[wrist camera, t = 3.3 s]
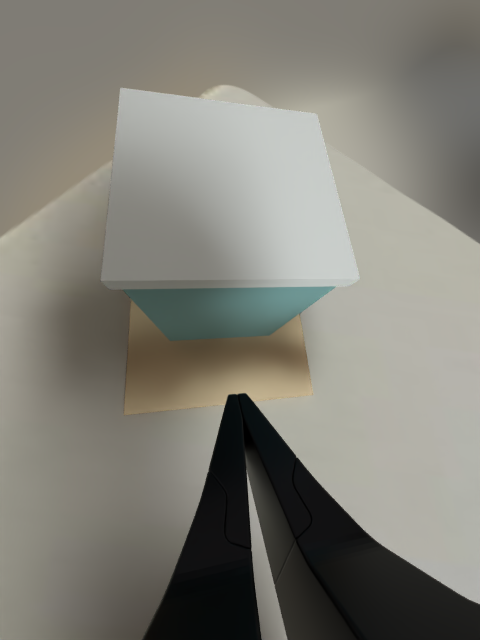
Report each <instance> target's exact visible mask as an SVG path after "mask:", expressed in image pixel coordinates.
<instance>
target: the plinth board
mask: <svg viewBox="0 0 480 640" xmlns="http://www.w3.org/2000/svg"><path fill="white" fill-rule="evenodd" d="M239 393H246V394H247V395H248V396H249V397H250V398H251V400H252V401H262V400H271V399H281V398H290V397H299V396H309V395H313V390H312V384H311V378H310V372H309V366H308V361H307V355H306V349H305V343H304V337H303V331H302V325H301V320H300V314H298V315H297V316H296V317H294V318H293V319H291V320H290V321H289V322H287V323H286V324H285V325H283V326H282V327H281V328H279V329H278V330H276V331H275V332H274V333H272V334H271V335H270V336H252V337H233V338H215V339H196V340H178V341H170V340H169V339H168V338H167V337H166V336H165V335H164V334H163V333H162V332H161V331H160V330H159V328H158V327H157V326H156V325H155V324H154V323H153V322H152V321H151V320H150V319H149V318H148V317H147V316H146V314H145V313H144V312H143V311H142V310H141V309H140V308H139V307H138V306H137V305H136V304H135V303H134V302H133V300H132V299H131V305H130V321H129V338H128V354H127V370H126V386H125V402H124V415H131V414H140V413H150V412H159V411H168V410H178V409H187V408H196V407H206V406H215V405H225V404H226V400H227V396H228V395H229V394H239Z"/></svg>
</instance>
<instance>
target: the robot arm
mask: <svg viewBox="0 0 480 640" xmlns="http://www.w3.org/2000/svg"><path fill="white" fill-rule="evenodd" d="M246 468H247V472H246ZM247 473H248V477H249V481H250V485H251V489H252V493H253V498H254V502H255V506H256V510H257V514H258V518H259V523H260V527H261V531H262V535H263V539H264V543H265V547H266V552H267V556H268V560H269V564H270V568H271V572H272V577H273V581H274V584H275V589H276V593H277V598H278V602H279V606H280V610H281V614H282V618H283V623H284V627H285V631H286V635H287V639H288V640H480V604H478V603H475V602H473V601H471V600H469V599H467V598H465V597H463V596H462V595H460V594H458V593H456V592H455V591H453V590H452V589H450V588H449V587H447V586H445V585H444V584H442V583H441V582H439V581H437V580H436V579H434V578H433V577H431V576H430V575H428V574H426V573H425V572H423V571H422V570H420V569H418V568H417V567H415V566H414V565H412V564H411V563H409V562H407V561H406V560H404V559H403V558H401V557H399V556H398V555H396V554H395V553H393V552H391V551H390V550H388V549H387V548H385V547H384V546H382V545H381V544H380V543H378V542H377V541H376V540H374V539H373V538H372V537H371V536H370V535H369V534H367V533H366V532H365V531H364V530H363V529H362V528H361V527H360V526H359V525H358V524H357V523H356V522H355V521H354V520H353V519H352V517H351V516H350V515H349V514H348V513H347V512H346V511H345V510H344V509H343V508H342V507H341V506H340V505H339V504H338V503H337V502H336V501H335V500H334V499H333V498H332V497H331V496H330V494H329V493H328V492H327V491H326V490H325V489H324V488H323V487H322V486H321V485H320V484H319V483H318V482H317V480H316V479H315V478H314V477H313V476H312V475H311V473H310V472H309V471H308V470H307V469H306V467H305V466H304V465H303V464H302V462H301V461H300V460H299V459H298V458H296V455H295V454H294V453H293V451H292V450H291V449H290V447H289V446H288V445H287V444H286V442H285V441H284V440H283V439H282V437H281V436H280V435H279V434H278V432H277V431H276V430H275V429H274V427H273V426H272V425H271V424H270V422H269V421H268V420H267V418H266V417H265V416H264V415H263V413H262V412H261V411H260V410H259V408H258V407H257V406H256V405H255V403H254V402H253V401H252V400H251V398H250V397H249V396H248V395H247V394H246V393H239V394H229V395H228V396H227V400H226V404H225V408H224V412H223V416H222V420H221V424H220V427H219V431H218V435H217V439H216V443H215V447H214V451H213V455H212V459H211V462H210V466H209V472H208V474H207V478H206V481H205V485H204V489H203V492H202V496H201V499H200V502H199V505H198V508H197V511H196V513H195V516H194V519H193V522H192V525H191V527H190V530H189V533H188V535H187V538H186V540H185V543H184V546H183V548H182V551H181V554H180V556H179V559H178V562H177V564H176V567H175V570H174V572H173V575H172V577H171V580H170V582H169V585H168V587H167V589H166V592H165V594H164V596H163V598H162V600H161V603H160V605H159V607H158V609H157V611H156V613H155V615H154V617H153V619H152V621H151V623H150V625H149V627H148V629H147V631H146V633H145V635H144V637H143V639H142V640H262V639H261V631H260V623H259V615H258V607H257V600H256V592H255V583H254V573H253V562H252V551H251V533H250V517H249V502H248V487H247Z"/></svg>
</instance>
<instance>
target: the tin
mask: <svg viewBox="0 0 480 640" xmlns="http://www.w3.org/2000/svg"><path fill="white" fill-rule="evenodd" d="M359 279H360V276H359V273H358V269H357V265H356V261H355V257H354V253H353V250H352V246H351V242H350V238H349V234H348V231H347V227H346V223H345V219H344V215H343V211H342V208H341V204H340V200H339V196H338V192H337V189H336V185H335V181H334V177H333V173H332V169H331V166H330V162H329V158H328V154H327V150H326V147H325V143H324V139H323V135H322V132H321V127H320V124H319V120H318V116H317V114H314V113H307V112H299V111H292V110H284V109H277V108H269V107H262V106H254V105H247V104H239V103H232V102H224V101H217V100H209V99H202V98H194V97H187V96H179V95H172V94H163V93H157V92H149V91H142V90H134V89H127V88H121V89H120V98H119V108H118V118H117V127H116V136H115V146H114V156H113V165H112V175H111V184H110V194H109V203H108V213H107V222H106V232H105V242H104V251H103V261H102V270H101V280H100V281H101V282H102V283H103V284H104V285H105V286H106V287H107V288H108V289H110V290H118V289H122V290H123V291H124V292H125V293H126V294H127V295H128V296H129V297H130V298H131V299H132V300H133V302H134V303H135V304H136V305H137V306H138V307H139V308H140V309H141V310H142V311H143V312H144V313H145V314H146V316H147V317H148V318H149V319H150V320H151V321H152V322H153V323H154V324H155V325H156V326H157V327H158V328H159V330H160V331H161V332H162V333H163V334H164V335H165V336H166V337H167V338H168V339H169V340H170V341H178V340H196V339H215V338H233V337H252V336H270V335H271V334H272V333H274V332H275V331H276V330H278V329H279V328H281V327H282V326H283V325H285V324H286V323H287V322H289V321H290V320H291V319H293V318H294V317H296V316H297V315H298V314H300V313H301V312H302V311H304V310H305V309H306V308H308V307H309V306H311V305H312V304H313V303H315V302H316V301H317V300H319V299H320V298H321V297H323V296H324V295H326V294H327V293H328V292H330V291H331V290H332V289H334V288H335V287H336V286H350V285H352V284H353V283H355V282H356V281H358V280H359Z"/></svg>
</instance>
